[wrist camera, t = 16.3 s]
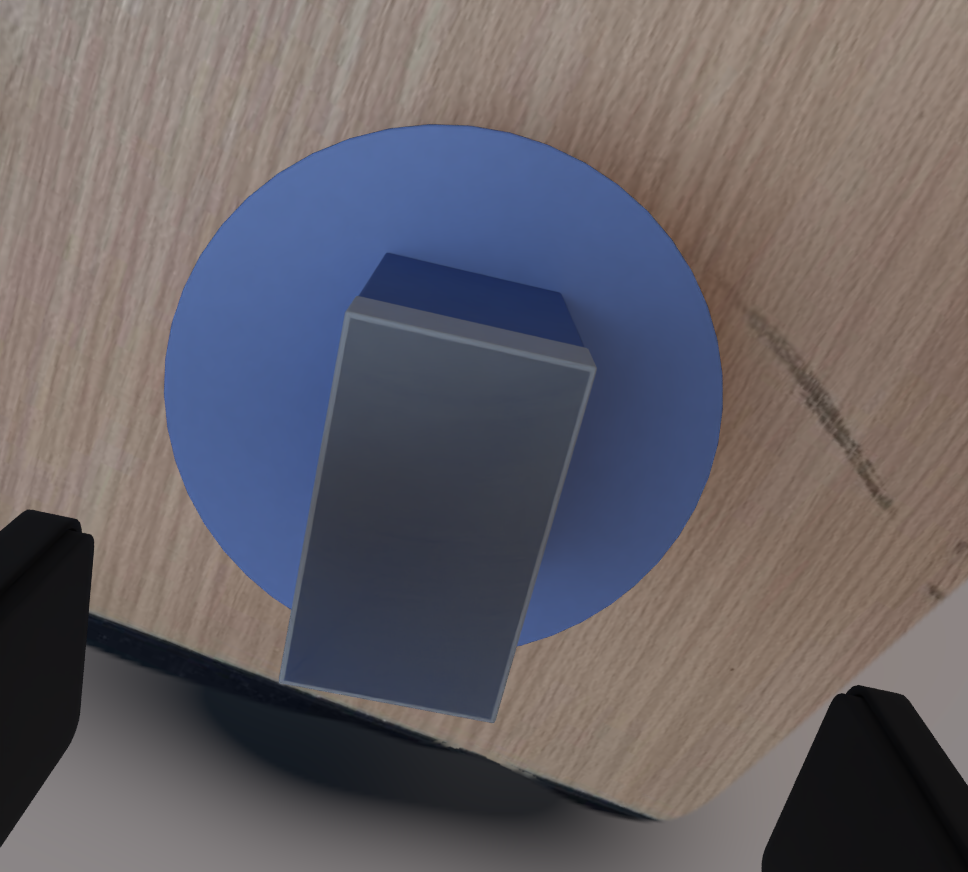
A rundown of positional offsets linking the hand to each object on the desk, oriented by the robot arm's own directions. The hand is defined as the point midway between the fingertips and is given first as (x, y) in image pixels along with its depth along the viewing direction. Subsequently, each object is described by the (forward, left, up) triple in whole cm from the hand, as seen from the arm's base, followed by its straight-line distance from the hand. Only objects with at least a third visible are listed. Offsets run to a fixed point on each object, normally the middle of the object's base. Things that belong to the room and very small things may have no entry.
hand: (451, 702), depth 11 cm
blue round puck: (0, 0, -18) cm, 18 cm away
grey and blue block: (+1, 0, -10) cm, 10 cm away
